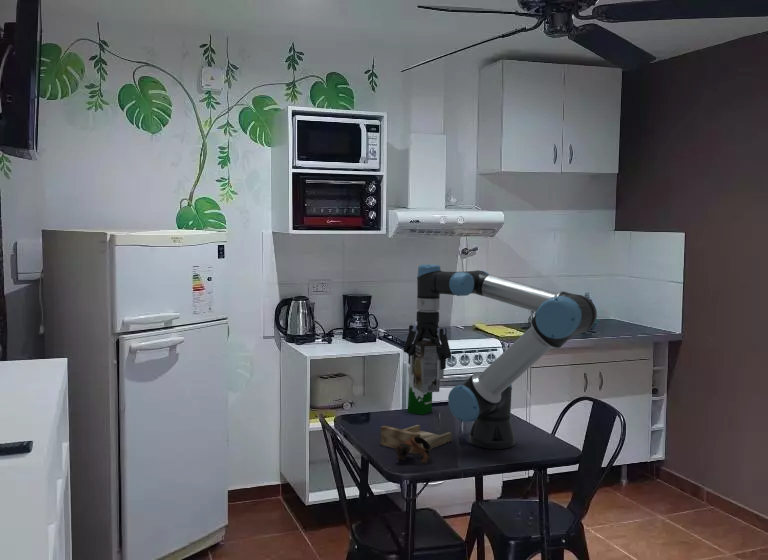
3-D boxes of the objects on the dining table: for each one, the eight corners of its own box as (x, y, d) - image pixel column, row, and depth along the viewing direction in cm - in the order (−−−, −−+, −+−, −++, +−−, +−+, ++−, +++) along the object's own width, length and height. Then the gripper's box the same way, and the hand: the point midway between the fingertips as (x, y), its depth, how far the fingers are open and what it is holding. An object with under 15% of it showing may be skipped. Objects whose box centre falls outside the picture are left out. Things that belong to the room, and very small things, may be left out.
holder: (451, 441, 240) (452, 423, 239) (416, 454, 224) (416, 435, 224) (417, 432, 249) (417, 415, 248) (380, 444, 233) (380, 426, 233)
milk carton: (423, 416, 272) (425, 364, 271) (403, 412, 277) (405, 361, 276) (435, 411, 279) (437, 361, 278) (415, 408, 284) (417, 358, 283)
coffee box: (412, 387, 242) (413, 340, 241) (430, 386, 244) (431, 339, 243) (421, 392, 234) (423, 344, 233) (440, 391, 235) (441, 343, 235)
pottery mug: (408, 454, 226) (422, 433, 224) (426, 474, 219) (440, 453, 218) (383, 452, 217) (397, 430, 215) (400, 473, 211) (415, 451, 209)
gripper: (393, 308, 242) (392, 373, 243) (450, 314, 227) (448, 383, 228) (407, 307, 247) (405, 370, 249) (463, 312, 233) (461, 379, 234)
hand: (426, 376), depth 239 cm, fingers closed on coffee box, 11 cm apart
